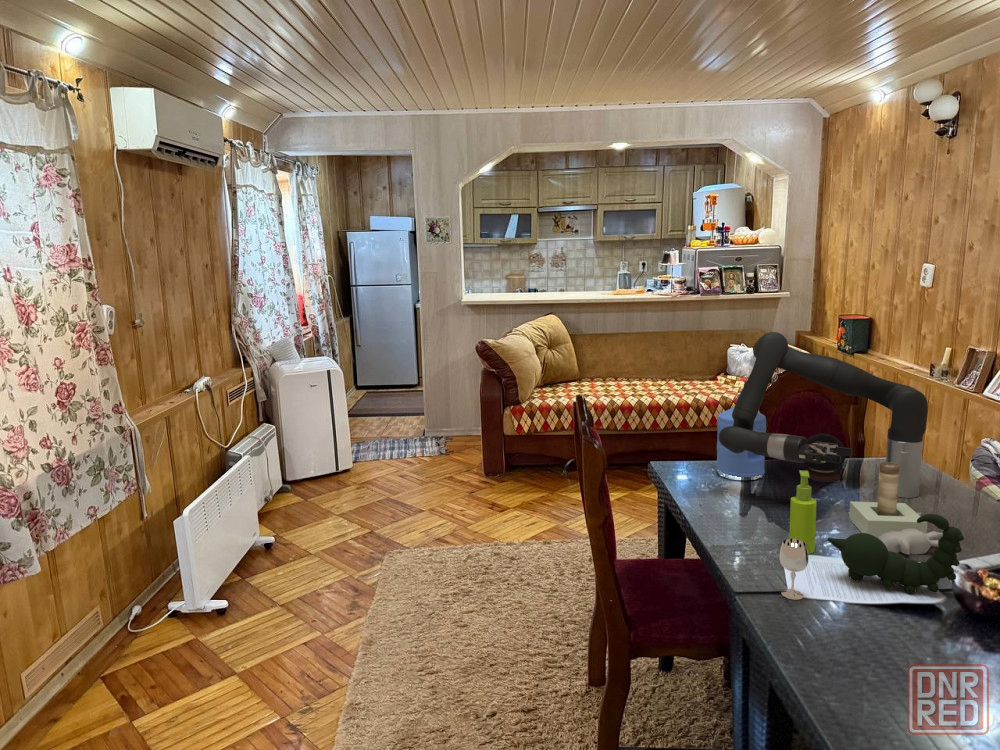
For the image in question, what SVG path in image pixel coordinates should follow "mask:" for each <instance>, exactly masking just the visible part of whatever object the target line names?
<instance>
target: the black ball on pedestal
mask: <svg viewBox="0 0 1000 750" xmlns="http://www.w3.org/2000/svg"><path fill="white" fill-rule="evenodd" d="M806 439H807V442H808V444H812V443H816V442H817V441H819V442H826V443H836V444H838V447H844V448H845V446H844V444H843V443H842V442H841V440H839V439H838V438H837V437H836V436H834V435H832V434H829V433H816V434H813V435H811V436H810V437H808V438H806ZM830 449H831V450H833V448H830ZM825 452H826V451H825ZM840 456H841V463H840V464H837V463H830V462H824V463H823V462H821V463H820V464H817V463H812V462H806V461H803V463H804V464H805V465H806V466H807V467H808V468H809V469H808V468H807V469H806V470H805V471H808V473H809V478H811V479H814V480H819V481H838V480H840V479H842V477H841V475H840V473H839V472H837V470H839V469H840V468H841V467H842V466H843V464H844V462H845V460H846V456H843V455H840ZM840 481H841V480H840Z"/></svg>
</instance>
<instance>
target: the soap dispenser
mask: <svg viewBox="0 0 1000 750" xmlns="http://www.w3.org/2000/svg"><path fill="white" fill-rule="evenodd" d="M798 473H799V475H800V484H797V485H796V495H795V496H792V497H791V498H790V511H789V513H790V514H789V515H790V516H789V535H788V536H789V538H788V539H798V540H801V541H803V542H805V543H806V546H807V550H808V555H811V553H812V554H813V552H814V553H815V546H816V542H815V541H816V525H817V524H816V523H817V522H816V521H817V505H818V503H817V500H816V499H815V498H813V497H812V489H813V488H812V486H811V485H810V484H809V480H808V478H809V473H808V471H806V470H800V469H799V470H798Z"/></svg>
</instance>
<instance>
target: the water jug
mask: <svg viewBox="0 0 1000 750" xmlns="http://www.w3.org/2000/svg"><path fill="white" fill-rule="evenodd" d="M739 395H740V393H738V394H737V395H736V396H737V398H738V397H739ZM733 409H734V407H731V408H729V409H727V410H724V411H722V412H719V413H718V415H717V420H716V421H717V422H716V427H717V438H716V439H717V441H716V456H717V457H716V466H715V467H716V468H717V469H718V470H719V471H721V472H723V473H725V474H728V475H732V476H737V477H755V476H759V475H762V474H764V473H765V474H766V469H765V461H766V460H765V459H766V458H765V457H766V456H762V455H757V454H754V453H752V452H750V451H746V450H745V451H744V452H742V453H733V452H731V451H730V450H728V449H727V448H725V447H724V446H723V445H722V444H721V443H720V441H719V433H720V431H721V430H722V429H723V428H725V427H728V426H733V424H734V420H733V418H732V412H733ZM766 418H767V417H766V416H765V415H764V414H763V413H760V412H759V411H758V413H757V416H756V418H755V420H754V425H753V431H756V432H764V433H766V429H767V419H766Z"/></svg>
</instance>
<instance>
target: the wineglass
mask: <svg viewBox="0 0 1000 750" xmlns="http://www.w3.org/2000/svg"><path fill="white" fill-rule="evenodd" d="M778 558H779V563H780V565H781V567H783V568H784V569H786V570H787V571H789V572H790V579H791V587H790V588H789V589H787V588H786V589H783V590H782V591H781V593H780V594H781V595H782V596H783V597H784V598H787V599H789V600H794V601H795V600H802V599H803V598H804V593H802V592H800V591H798V590H796V589H795V579H796V575H797V574H796V573H799V572H802V571H804V570H805V569H806V568H807V567H808V565H809V554H808V550H807V546H806V543H805V542H803V541H801V540H798V539H789V538H785V539H783V540H782V543H781V546H780V548H779V557H778Z"/></svg>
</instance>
